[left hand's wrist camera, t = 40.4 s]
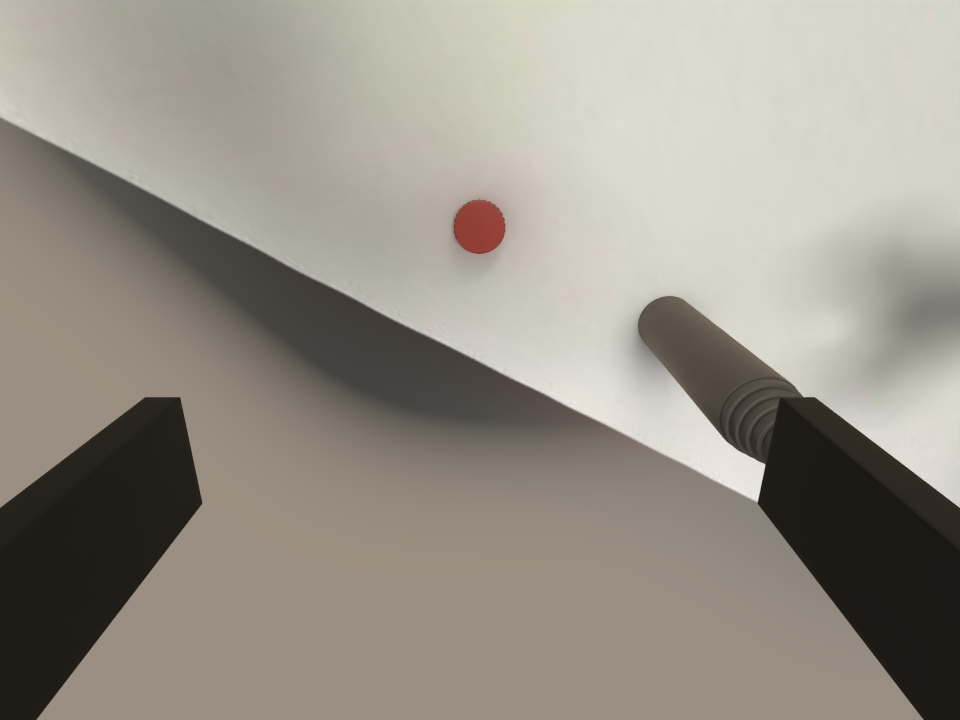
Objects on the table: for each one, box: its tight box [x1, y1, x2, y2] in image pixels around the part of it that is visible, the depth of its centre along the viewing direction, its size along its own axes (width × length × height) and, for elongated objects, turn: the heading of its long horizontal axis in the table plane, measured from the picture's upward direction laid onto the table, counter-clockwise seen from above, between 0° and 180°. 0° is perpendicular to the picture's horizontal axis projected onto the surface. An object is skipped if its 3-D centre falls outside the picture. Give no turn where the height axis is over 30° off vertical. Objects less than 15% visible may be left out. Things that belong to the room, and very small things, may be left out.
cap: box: [454, 199, 505, 254], centre depth 47 cm, size 4×4×2 cm
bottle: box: [639, 296, 803, 465], centre depth 39 cm, size 5×5×24 cm
